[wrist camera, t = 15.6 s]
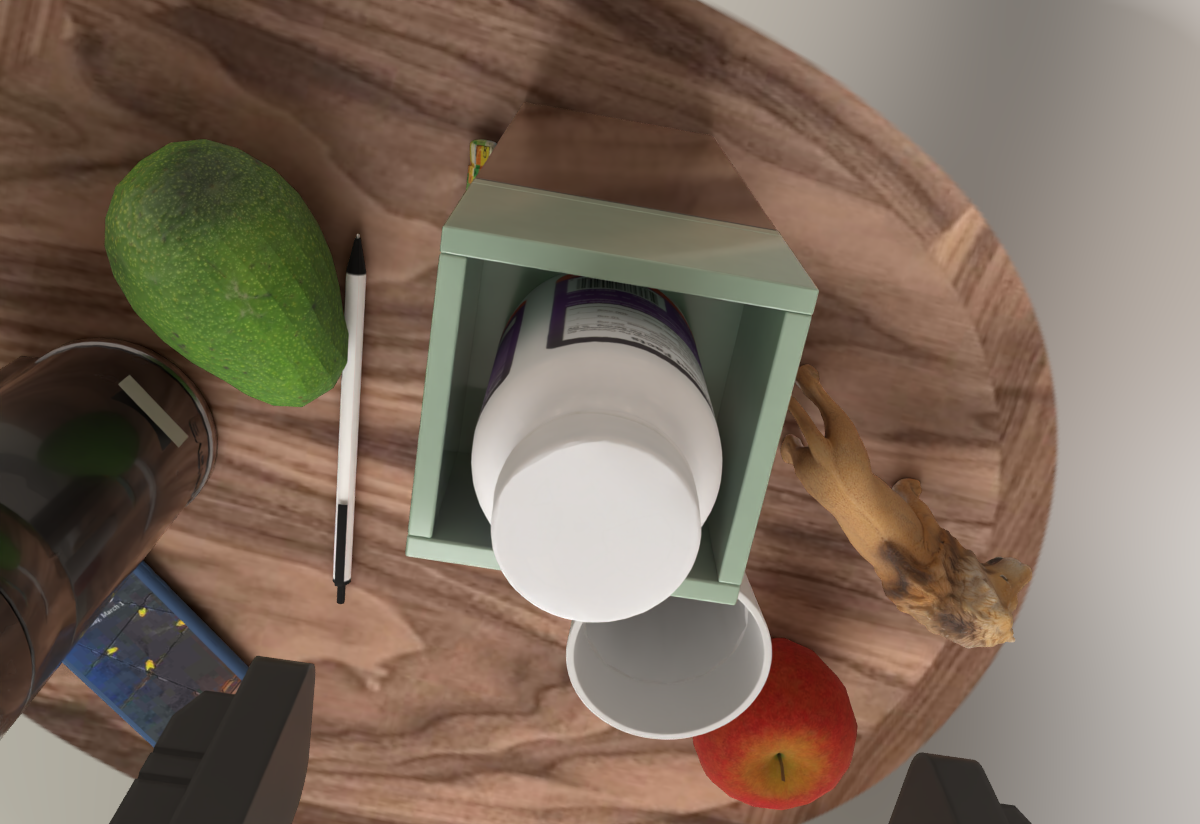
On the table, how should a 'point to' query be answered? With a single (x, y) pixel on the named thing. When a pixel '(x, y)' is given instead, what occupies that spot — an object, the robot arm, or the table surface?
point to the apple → (784, 735)
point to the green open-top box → (625, 255)
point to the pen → (349, 419)
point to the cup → (672, 665)
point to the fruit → (229, 270)
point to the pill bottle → (596, 449)
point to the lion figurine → (901, 532)
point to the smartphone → (152, 655)
